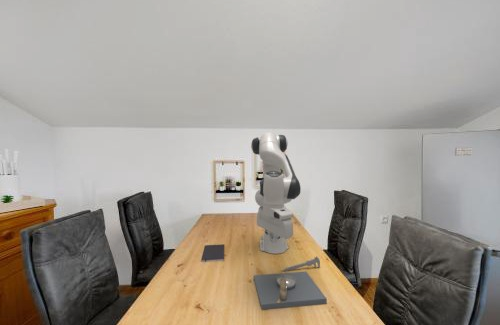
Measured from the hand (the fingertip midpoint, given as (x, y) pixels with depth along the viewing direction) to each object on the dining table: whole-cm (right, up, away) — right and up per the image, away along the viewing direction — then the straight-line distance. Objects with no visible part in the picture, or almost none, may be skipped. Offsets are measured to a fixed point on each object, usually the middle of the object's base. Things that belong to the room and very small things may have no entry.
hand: (273, 242), depth 93 cm
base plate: (+6, -22, +2) cm, 23 cm away
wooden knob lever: (+5, -19, -1) cm, 20 cm away
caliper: (+17, -22, +20) cm, 34 cm away
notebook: (-32, -22, +40) cm, 56 cm away
